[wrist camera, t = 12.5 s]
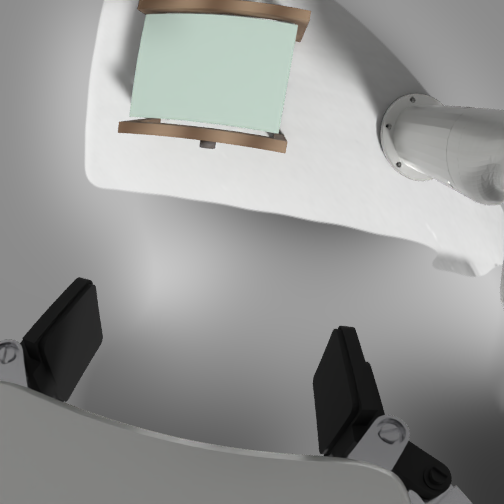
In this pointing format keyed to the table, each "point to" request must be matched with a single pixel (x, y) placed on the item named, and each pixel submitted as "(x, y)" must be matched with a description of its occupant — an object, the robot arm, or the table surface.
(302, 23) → the miniature table
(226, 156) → the table surface
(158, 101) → the pale green flat panel
